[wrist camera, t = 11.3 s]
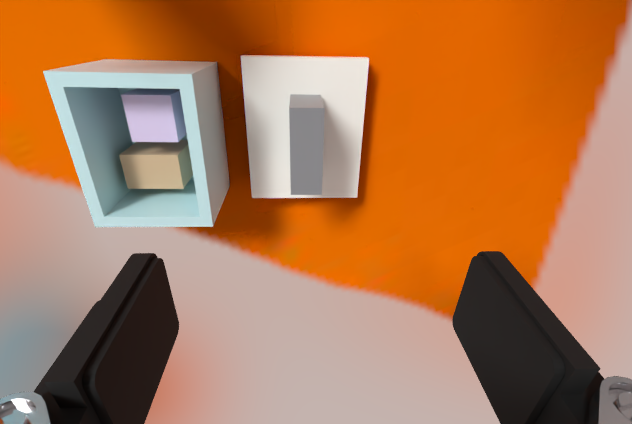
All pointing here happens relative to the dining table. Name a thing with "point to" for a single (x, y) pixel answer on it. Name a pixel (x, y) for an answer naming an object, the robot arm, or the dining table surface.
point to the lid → (304, 124)
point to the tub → (145, 140)
